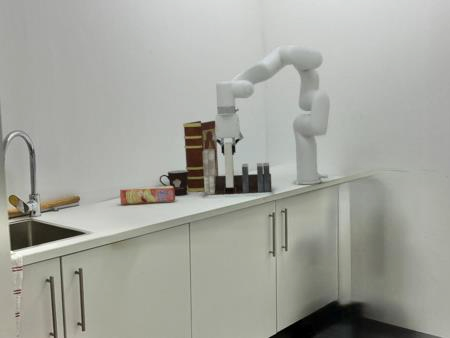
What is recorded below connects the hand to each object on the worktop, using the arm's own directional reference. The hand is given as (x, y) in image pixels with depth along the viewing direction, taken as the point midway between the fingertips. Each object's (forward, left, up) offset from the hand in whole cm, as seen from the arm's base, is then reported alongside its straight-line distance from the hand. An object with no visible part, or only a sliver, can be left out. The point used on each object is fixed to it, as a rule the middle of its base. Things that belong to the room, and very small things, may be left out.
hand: (228, 154), depth 261 cm
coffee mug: (+23, -6, -17) cm, 30 cm away
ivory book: (0, 0, -13) cm, 13 cm away
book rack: (-4, -1, -17) cm, 17 cm away
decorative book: (+13, -22, -17) cm, 31 cm away
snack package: (+32, +12, -17) cm, 39 cm away
